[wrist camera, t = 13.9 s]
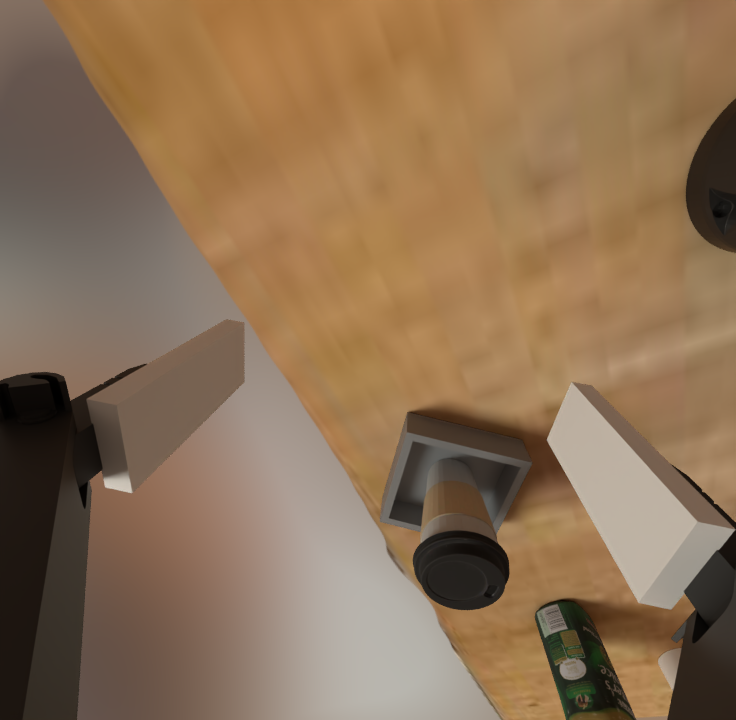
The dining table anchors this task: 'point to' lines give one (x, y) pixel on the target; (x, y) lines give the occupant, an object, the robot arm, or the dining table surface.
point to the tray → (453, 441)
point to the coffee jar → (580, 664)
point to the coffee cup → (458, 542)
